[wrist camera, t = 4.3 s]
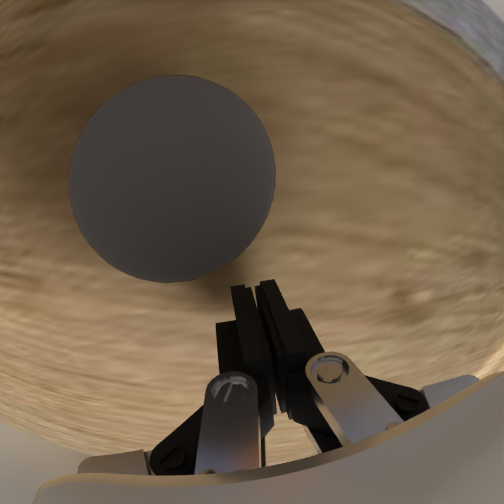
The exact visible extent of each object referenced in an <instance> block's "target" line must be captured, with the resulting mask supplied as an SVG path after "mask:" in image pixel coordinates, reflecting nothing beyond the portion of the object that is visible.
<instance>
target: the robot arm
mask: <svg viewBox="0 0 504 504" xmlns="http://www.w3.org/2000/svg"><path fill="white" fill-rule="evenodd" d="M230 288H231V294H232V299H233V305H234V311H235V317H236V320H233V321H227V322H221V323H216V337H217V349H218V361H219V372H220V375H218V376H216V377H215V378H213V379H212V380H211V381H210V383H209V384H208V386H207V389H206V393H205V399H204V405H203V406H202V407H200V408H199V409H198V410H197V411H196V412H195V413H194V414H193V415H192V416H190V417H189V418H188V419H187V420H186V421H185V422H184V423H183V424H181V425H180V426H179V427H178V428H177V429H176V430H174V431H173V432H172V433H171V434H170V435H169V436H167V437H166V438H165V439H164V440H163V441H161V442H160V443H159V444H158V445H157V446H156V447H155V448H154V449H153V450H152V451H147V452H145V451H144V450H143V449H142V450H137V451H131V452H125V453H118V454H111V455H102V456H93V457H89V458H86V459H85V460H83V461H82V462H81V463H80V465H79V467H78V473H77V474H72V475H66V476H62V477H58V478H55V479H52V480H50V481H48V482H46V483H44V484H43V485H42V486H41V487H40V488H39V489H38V491H37V493H36V494H35V497H34V499H33V502H32V504H504V371H501V372H498V373H494V374H492V375H489V376H487V377H485V378H483V379H481V380H479V379H478V378H477V377H475V376H473V375H462V376H459V377H456V378H453V379H450V380H446V381H443V382H439V383H435V384H432V385H428V386H424V387H422V388H421V390H419V391H418V390H416V389H413V388H410V387H406V386H402V385H398V384H394V383H391V382H387V381H383V380H379V379H376V378H372V377H369V376H365V375H364V374H363V373H362V372H361V371H360V370H359V369H358V368H357V366H356V365H355V364H354V363H353V362H352V361H351V360H350V359H349V358H348V357H347V356H345V355H343V354H341V353H337V352H325V351H324V349H323V347H322V346H321V344H320V342H319V340H318V338H317V336H316V334H315V332H314V331H313V329H312V327H311V325H310V323H309V321H308V319H307V317H306V316H305V314H304V312H303V310H302V309H301V308H298V309H293V310H289V309H288V307H287V305H286V303H285V301H284V299H283V296H282V294H281V292H280V290H279V288H278V286H277V284H276V282H275V280H274V279H272V280H266V281H260V285H259V286H255V293H256V301H257V306H256V303H255V300H254V296H253V293H252V289H251V287H248V288H245V284H243V285H237V286H231V287H230ZM257 309H258V310H257ZM275 393H276V396H277V400H278V403H279V407H280V410H281V413H284V412H287V414H288V417H289V420H290V419H293V421H295V422H297V423H299V424H302V425H303V428H304V431H305V433H306V434H307V436H308V438H309V440H310V441H311V443H312V445H313V447H314V448H315V450H316V452H317V453H318V455H315V456H311V457H307V458H303V459H299V460H295V461H291V462H287V463H282V464H277V465H272V466H267V454H266V437H265V436H266V435H267V433H268V432H269V431H270V430H271V429H272V427H273V426H274V418H273V415H274V414H277V409H276V398H275Z"/></svg>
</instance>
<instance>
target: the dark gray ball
mask: <svg viewBox="0 0 504 504" xmlns="http://www.w3.org/2000/svg"><path fill="white" fill-rule="evenodd" d="M275 176H276V167H275V160H274V153H273V150H272V146H271V143H270V140H269V137H268V135H267V133H266V131H265V128H264V126H263V125H262V123H261V122H260V120H259V118H258V117H257V115H256V114H255V113H254V112H253V110H252V109H251V108H250V107H249V106H248V105H247V104H246V103H245V102H244V101H243V100H242V99H241V98H240V97H238V96H237V95H236V94H234V93H233V92H231V91H230V90H228V89H227V88H225V87H223V86H220V85H218V84H216V83H214V82H212V81H209V80H206V79H202V78H199V77H193V76H186V75H168V76H159V77H154V78H150V79H147V80H144V81H141V82H138V83H135V84H133V85H130V86H129V87H127V88H125V89H123V90H121V91H120V92H118V93H117V94H115V95H114V96H112V97H111V98H110V99H109V100H107V101H106V102H105V103H104V104H103V105H102V106H101V107H100V108H99V109H98V110H97V111H96V112H95V114H94V115H93V116H92V117H91V118H90V120H89V121H88V123H87V124H86V126H85V127H84V129H83V131H82V133H81V134H80V136H79V138H78V141H77V143H76V146H75V149H74V152H73V155H72V159H71V163H70V170H69V196H70V202H71V206H72V210H73V214H74V217H75V220H76V222H77V225H78V227H79V229H80V231H81V233H82V234H83V236H84V237H85V239H86V240H87V242H88V243H89V244H90V246H91V247H92V248H93V249H94V250H95V251H96V252H97V253H98V254H99V255H100V256H101V257H102V258H103V259H104V260H105V261H106V262H108V263H109V264H110V265H112V266H113V267H115V268H116V269H118V270H120V271H122V272H124V273H126V274H128V275H130V276H133V277H136V278H139V279H143V280H147V281H153V282H160V283H173V282H184V281H189V280H194V279H197V278H200V277H203V276H206V275H209V274H211V273H213V272H215V271H217V270H219V269H221V268H222V267H224V266H226V265H227V264H229V263H230V262H231V261H233V260H234V259H235V258H237V257H238V256H239V255H240V254H241V253H242V252H243V251H244V250H245V249H246V248H247V247H248V246H249V245H250V244H251V242H252V241H253V239H254V238H255V237H256V235H257V234H258V232H259V231H260V229H261V228H262V226H263V224H264V222H265V220H266V218H267V215H268V213H269V210H270V207H271V204H272V201H273V196H274V190H275Z"/></svg>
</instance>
